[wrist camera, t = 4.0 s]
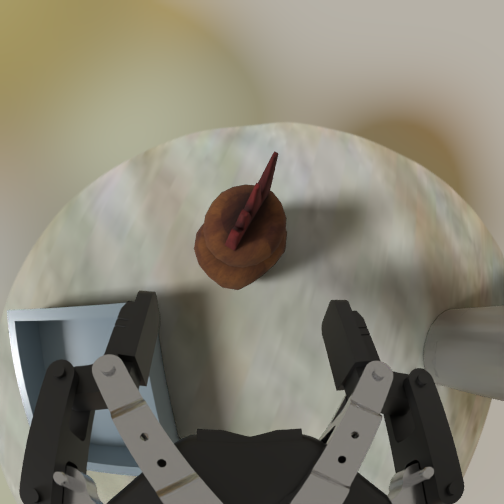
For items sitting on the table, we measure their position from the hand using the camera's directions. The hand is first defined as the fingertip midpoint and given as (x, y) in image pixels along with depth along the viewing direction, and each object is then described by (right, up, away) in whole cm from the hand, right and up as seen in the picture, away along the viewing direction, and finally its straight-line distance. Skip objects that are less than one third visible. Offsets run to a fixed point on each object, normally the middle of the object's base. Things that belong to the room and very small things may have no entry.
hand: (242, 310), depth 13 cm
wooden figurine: (-1, +2, +13) cm, 14 cm away
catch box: (-14, -10, +10) cm, 20 cm away
